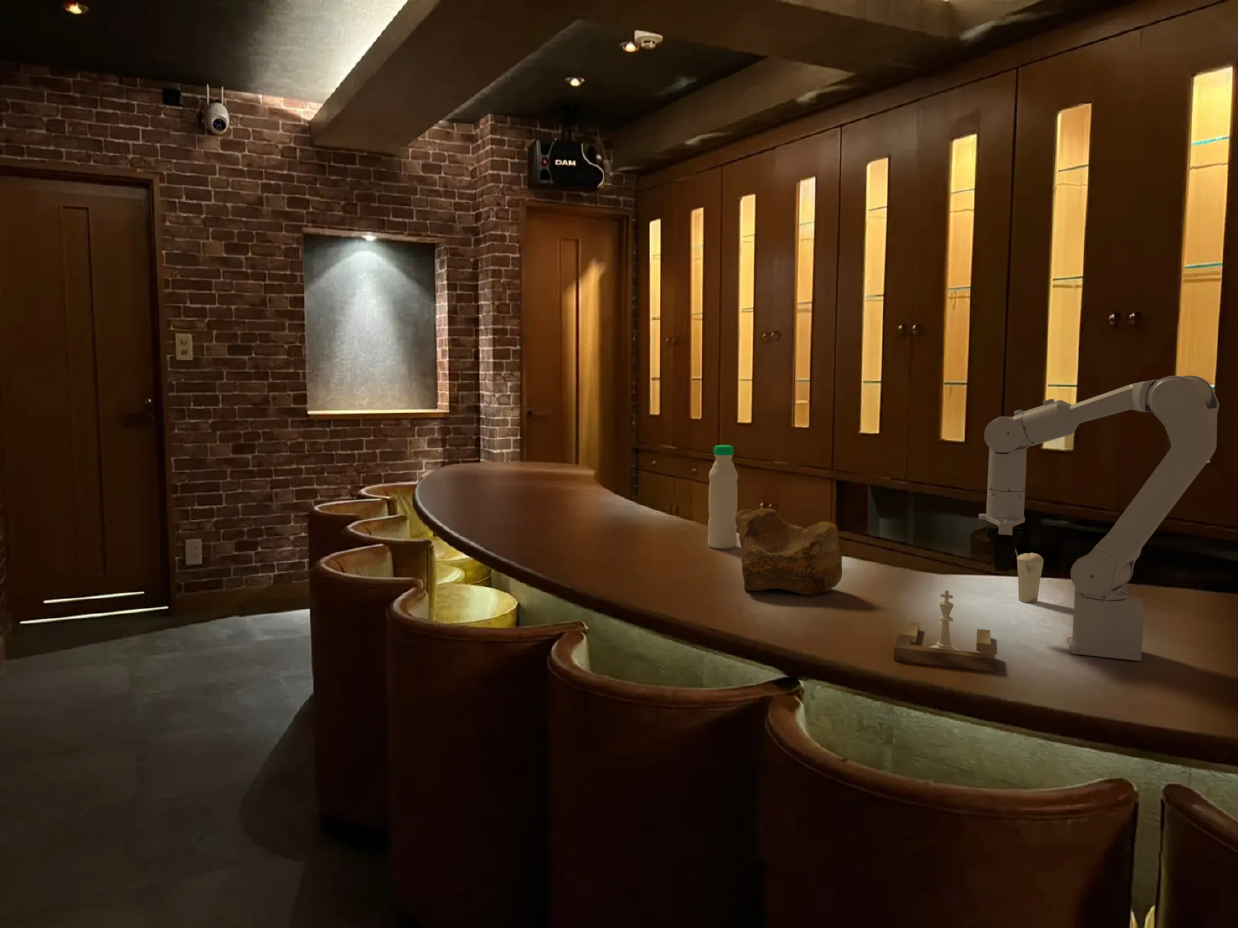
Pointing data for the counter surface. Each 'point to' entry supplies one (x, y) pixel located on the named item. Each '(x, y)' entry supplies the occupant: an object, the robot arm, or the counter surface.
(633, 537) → the counter surface
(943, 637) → the chess piece
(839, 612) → the counter surface
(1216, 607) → the counter surface
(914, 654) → the stop rail
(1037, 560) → the milkshake
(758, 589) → the rough brown rock
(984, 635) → the pocket channel
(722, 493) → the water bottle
